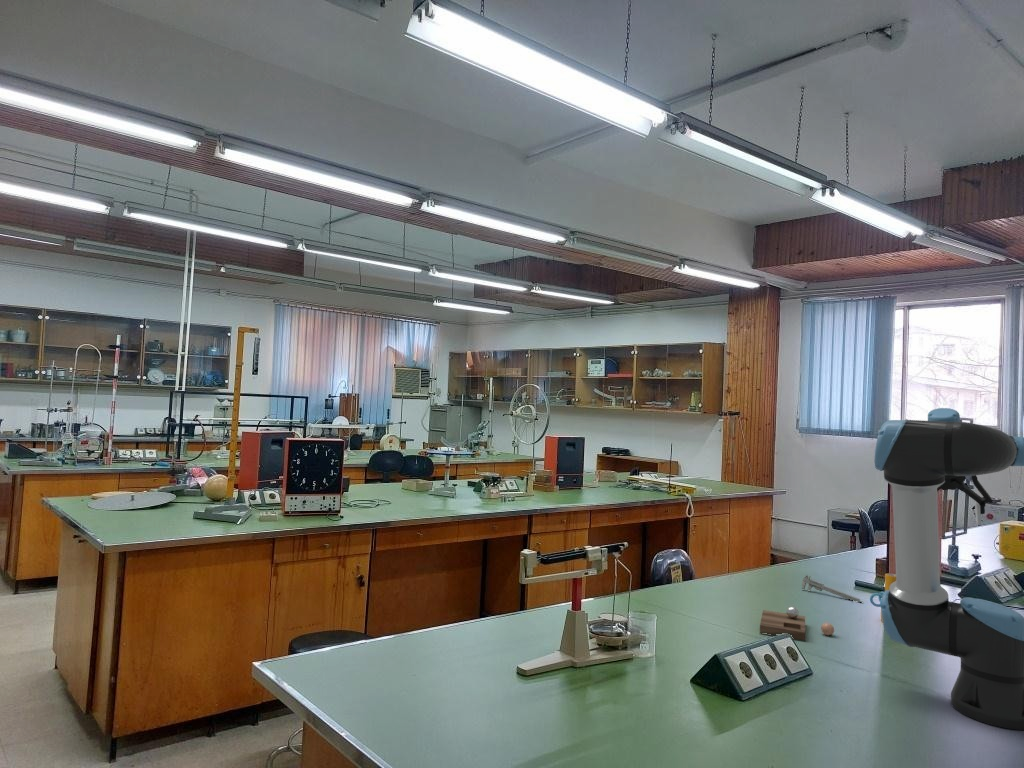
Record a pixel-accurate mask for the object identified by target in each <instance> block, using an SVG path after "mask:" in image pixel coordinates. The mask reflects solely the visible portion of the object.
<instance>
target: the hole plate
mask: <svg viewBox="0 0 1024 768" xmlns="http://www.w3.org/2000/svg"><path fill="white" fill-rule="evenodd" d="M761 613H762V614H761V618H760V624H759V634H760V633H767V634H771V635H776V634H782V633H788V634H790V635H792V637H793V638H794V639H795V640H794V639H793V640H794V641H800V640H804V641H803V642H806V616H804V615H800V614H799V615H798V617H797V618H790V617H789V616H788V615H787V613H784V612H779V611H772V610H766V609H763V610H762V612H761Z"/></svg>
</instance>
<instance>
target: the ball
mask: <svg viewBox="0 0 1024 768" xmlns="http://www.w3.org/2000/svg"><path fill="white" fill-rule="evenodd" d="M820 629H821V632H822V634H823V635H825V636H828V637H829V635H830V636H832V635H833V634H834V632H835V627H834V625H833V624H832V623H829V622H824V623H822V624H821V626H820Z"/></svg>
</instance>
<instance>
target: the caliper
mask: <svg viewBox="0 0 1024 768" xmlns="http://www.w3.org/2000/svg"><path fill="white" fill-rule="evenodd" d="M807 584H808V586H807V590H810V591H811V590H812V588H814V589H815V590H817V591H819V592H822V591H826V592H829V593H830V594H833V595H835V596H838V597H841V598H843V599H846V600H848V599H850V600H849V601H851V600H854V601H858V602H857V603H860V602H863V601H862V600H861V599H860V598H858V597H855V596H852V595H851V594H848V593H846V592H842V591H840V590H837V589H835V588H832V587H829V586H828V585H825V583H822V582H819V581H817V580H815V579H811V575H808V574H805V576H804V577H803V578H802V581H801V590H802V589H804V590H805V588H806V585H807ZM807 590H806V591H807Z"/></svg>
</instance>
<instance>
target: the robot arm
mask: <svg viewBox="0 0 1024 768" xmlns="http://www.w3.org/2000/svg"><path fill="white" fill-rule="evenodd" d="M1009 467H1024V436H1015V435H1009V434H1007V433H1006V432H1004V431H1003V430H999V429H997V428H994V427H991V426H986V425H982V424H978V423H973V422H965V421H961V417H960V413H959V411H957V410H956V409H953V408H949V407H939V408H935V409H932V410H930V411H929V412H928V414H927V420H919V419H918V420H916V419H906V418H905V419H894V420H893V419H892V420H887V421H885V422H884V423H883V424H882V425H881V427H880V429H879V431H878V436H877V440H876V444H875V450H874V468H875V470H877V471H879V472H882V471H883V479H884V481H885V482H886V483H888V485H890V486H891V488H892V489H891V490H892V510H893V513H892V514H893V516H892V517H893V535H894V556H895V557H894V558H895V574H896V581H895V582H893V583H892V584H891V585H890V586H889V590H886V591H885V590H884V591H883V592H884V593H883V594H882V595H883V596H882V598H881V599H882V619H883V622H882V624H883V629H884V631H885V633H886V635H887V637H888V638H889V639H890V640H891V641H893V642H894V643H898V644H902V645H905V646H907V647H910V648H918V649H921V650H926V651H927V650H928V651H931V652H934V653H935V652H936V653H940V654H945V655H948V656H953V657H957V658H959V659H960V671H959V673H958V676H957V678H956V680H955V683H954V685H953V687H952V689H951V692H950V705H951V706H952V708H954V709H955V710H956V711H957V712H959V713H960V712H961V713H960V714H962V715H964V716H966V717H968V718H971V719H973V720H976V721H978V722H981V723H983V724H987V725H991V726H995V727H999V728H1003V729H1008V730H1009V729H1010V730H1016V731H1018V730H1019V731H1024V616H1023V615H1022V613H1019V612H1018V611H1016V610H1015V609H1012V608H1011V607H1008V606H1005V605H1003V604H1000V603H996V602H994V601H990V600H986V599H982V598H974V597H963V598H961V600H960V601H959V602H954V601H950V600H949V593H948V591H947V590H946V588H944V587H943V586H941V571H940V567H941V566H940V544H939V543H940V542H939V540H940V539H939V513H938V512H939V507H938V505H939V504H938V492H939V491H940V490H942V491H948V490H950V491H955V490H957V489H958V490H959V491H961V492H963V493H964V494H966V495H967V496H968V497H969V498H971V499H972V500H973V501H974V513H975V514H974V515H975V521H976V522H975V523H976V524H977V526H982V518H981V516H982V515H984V514H985V513H986V510H985V508H986V505H987V504H992V503H993V499H992V497H991V495H990V494H989V493H988V492H987V490H986V489H985V488H984V486H983V484H981V483H980V481H979V480H978V477H977V476H980V475H988V474H994V473H999V472H1002V471H1004V470H1007V469H1008V468H1009ZM966 480H968V481H969V482H970V483H972V484H973V485H974V488H976V490H977V491H978V492H979V493H980V495H982V496H980V495H979V494H978V493H976V492H975V491H974V490H973V489H972V488H970V487H968V485H966V484H965V482H966Z"/></svg>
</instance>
